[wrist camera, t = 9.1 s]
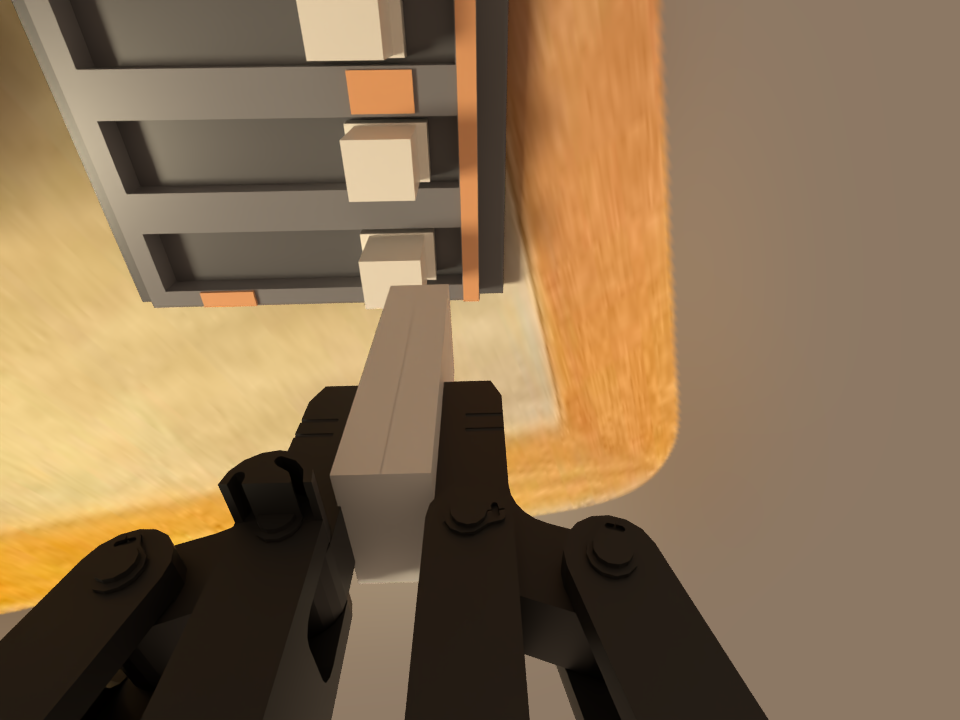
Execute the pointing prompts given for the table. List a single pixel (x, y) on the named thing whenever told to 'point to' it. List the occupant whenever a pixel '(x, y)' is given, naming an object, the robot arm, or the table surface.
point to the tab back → (395, 261)
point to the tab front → (352, 29)
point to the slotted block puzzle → (273, 142)
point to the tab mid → (385, 158)
